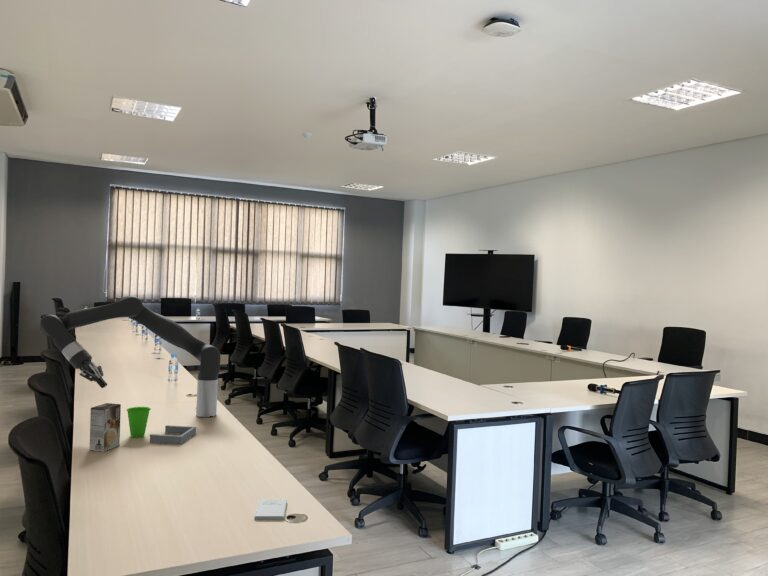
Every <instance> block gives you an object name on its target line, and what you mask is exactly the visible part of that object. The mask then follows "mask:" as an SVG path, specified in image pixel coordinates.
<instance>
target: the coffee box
mask: <svg viewBox="0 0 768 576" xmlns="http://www.w3.org/2000/svg"><path fill="white" fill-rule="evenodd" d="M121 409H122V406H121V403H111V402H110V403H109V402H108V403H107V402H106V403H103V404H100V405H96V406H93V407H90V418H89V419H90V421H89V423H90V424H89V449H88V450H89V451H90V450H94V451H93V452H99V451H101V452H100V453H105V452H107V450H108V451H109V449H110V450H112V449H114V448H117V447H119V446H120V442H121V441H120V439H121V438H120V437H121ZM104 451H105V452H104Z"/></svg>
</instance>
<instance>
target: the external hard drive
mask: <svg viewBox="0 0 768 576" xmlns="http://www.w3.org/2000/svg"><path fill="white" fill-rule="evenodd" d="M287 503H288V500H287V499H269V498H268V499H259V500H258V504H257V507H256V510H255V514H254V517H253V519H254V520H255V521H261V520H262V521H284V520H285V518H286V517H285V516H286V511H287Z"/></svg>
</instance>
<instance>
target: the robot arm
mask: <svg viewBox="0 0 768 576" xmlns="http://www.w3.org/2000/svg"><path fill="white" fill-rule="evenodd" d="M118 318H128V319H130V320H133V321H134V322H137V323H139V324H140V325H142V326H143V327H145V328H147V329H148V331H150V332H152V333H153V334H154V335H156V336H158V337H159V338H160V339H162V340H164V341H166V342H167V343H169V344H171V345H173V346H174V347H176V348H180V349H181V350H184V351H186V352H187V353H188V354H190V355H192V356H193V357H194V358H195V359H196V360H198V361H199V363H200V364H199V365H200V366H199V372H198V373H197V382H196V383H197V387H196V390H197V391H196V406H195V407H196V409H195V411H196V412H195V416H196V417H200V418H211V417H210V416H213V417H216V416H217V411H218V410H217V409H218V408H217V407H218V406H217V405H218V386H219V385H218V384H219V383H218V382H219V375H220V371H221V369H220V368H221V351H220V350H219V349H218V348H217V347H216V346H214V345H211V344H210V343H209V344H208V343H206V342H204V341H202V340H200V339H197V338H196V337H195V336H194V335H192V334H191V333H190V332H189V331H188V330H187V329H185V328H184V327H183V326H182V325H180V324H179V323H177V322H175V321H174V320H172V319H170V318H169V317H166V316H164V315H162V314H159V313H156V312H154V311H153V310H151V309H149V308H148V307H147V306H145V305H144V304H143V301H142V300H141V299H140V298H139V297H137V296H134V295H126V296H124V297H121V298H119V299H118V301H116V302H112V303H108V304H105V305H100V306H99V305H98V306H93V307H87V308H82V309H78V310H73V311H69V312H67V313H65V315H64V316H60V317H58V316H57V315H54V314H46V315H44V316H43V317H41V319H40V322H39V325H40V326H39V327H40V331H41V333H42V334H43V335H44V336H47V337H50V338H51V339H52V341H53V343H54V345H55V347H56V348H57V349H58V350H59V352H61V354H62V355H63V356H64V357H65V359H66V361H68V362H69V363H70V364H71V365H72V367H73V368H74V369H75V370H79V371H81V372H80V373H79V376H81V377H83V378H85V379H86V380H88V381H89V382H94V383H96V384H97V385H98V386H99V387H100V388H101V389H103V388H106V387H107V386H108V383H107V382H106V381H105V380H104V378H103V376H104V371H103V369H102V366H101V365H98V366H97V365H96V364H95V363H94V362H93V361H92V360H93V356H92V355H91V354H90V353H89V351H87V350H86V348H85V347H84V346H83V345H82V344H81V343H80V342H79V341H78V340H77V339H76V337H74V336H73V335H72V334H71V333H70V330H72V329H77V328H81V327H85V326H88V325H93V324H96V323H101V322H103V321H104V322H105V321H107V320H112V319H118ZM215 415H216V416H215Z"/></svg>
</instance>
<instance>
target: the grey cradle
mask: <svg viewBox="0 0 768 576" xmlns="http://www.w3.org/2000/svg"><path fill="white" fill-rule="evenodd" d="M164 433H165V434H156V433H155V434H154V433H151V434H149V443H151V444H152V443H153V444H168V445H169V444H170V445H182V444H184V443H186V442H187V441H188V440H189V438H190V437H191V438H192V437H194V436H195V435H196V434H197V426H189V425H188V426H187V425H171V424H169V425H168V424H166V425H165V427H164ZM173 433H178V434H179V435H178V434H177V435H175V434H173ZM171 434H172V435H171ZM193 435H194V436H193ZM191 438H190V439H191Z"/></svg>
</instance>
